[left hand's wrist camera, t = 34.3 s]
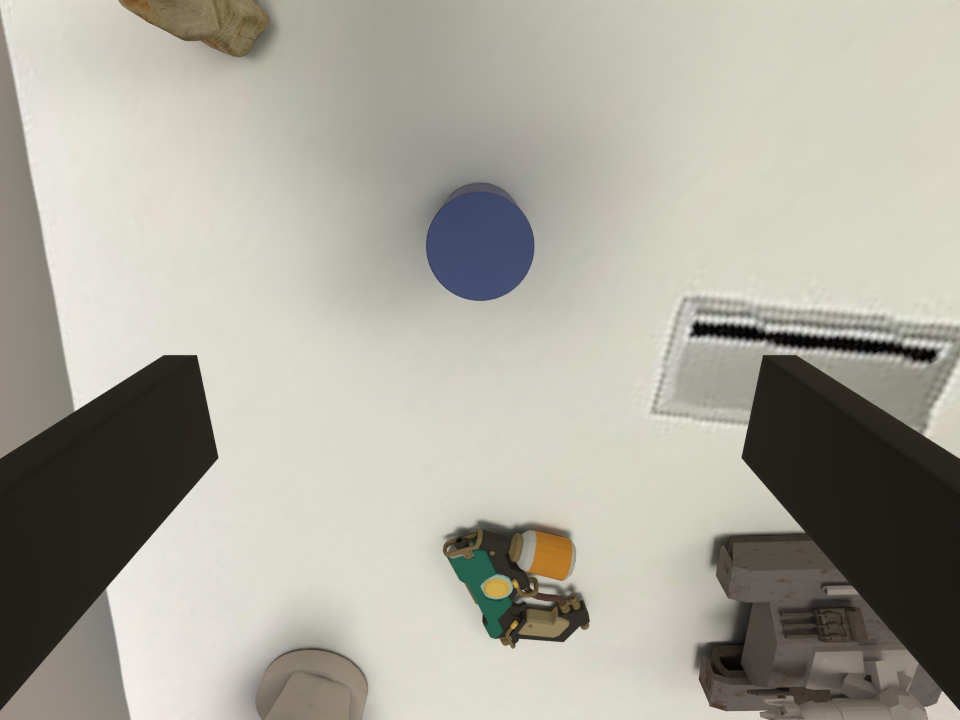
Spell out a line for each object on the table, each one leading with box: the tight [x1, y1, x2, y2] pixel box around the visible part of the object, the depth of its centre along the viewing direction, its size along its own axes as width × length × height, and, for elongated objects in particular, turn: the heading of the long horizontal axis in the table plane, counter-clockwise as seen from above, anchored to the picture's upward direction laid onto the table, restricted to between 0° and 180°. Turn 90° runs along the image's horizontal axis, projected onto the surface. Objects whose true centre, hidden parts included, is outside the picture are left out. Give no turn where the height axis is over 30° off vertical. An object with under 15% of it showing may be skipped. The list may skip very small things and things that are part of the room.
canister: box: [426, 183, 534, 301], centre depth 39 cm, size 7×7×12 cm
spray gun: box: [443, 529, 590, 649], centre depth 57 cm, size 4×17×15 cm
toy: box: [699, 534, 942, 720], centre depth 53 cm, size 25×20×15 cm
